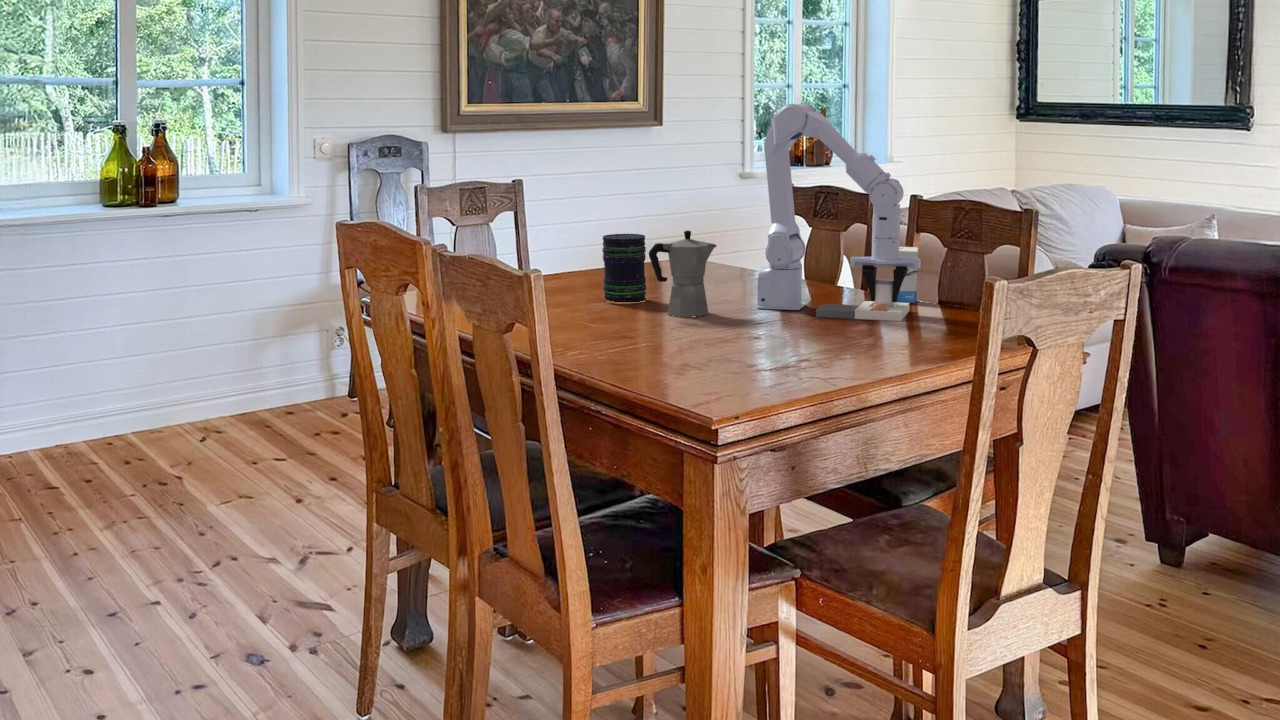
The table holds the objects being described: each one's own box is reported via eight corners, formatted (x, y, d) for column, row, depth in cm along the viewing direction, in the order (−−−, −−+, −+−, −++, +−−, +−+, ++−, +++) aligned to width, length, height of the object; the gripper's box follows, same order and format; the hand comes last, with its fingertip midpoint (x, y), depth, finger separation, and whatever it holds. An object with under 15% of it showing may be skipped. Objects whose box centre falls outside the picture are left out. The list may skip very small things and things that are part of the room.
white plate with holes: (854, 318, 266) (854, 310, 266) (864, 309, 277) (864, 301, 277) (900, 320, 263) (901, 312, 262) (909, 311, 274) (909, 302, 273)
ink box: (917, 303, 283) (918, 250, 280) (894, 303, 284) (895, 250, 281) (916, 297, 291) (918, 246, 289) (894, 297, 292) (895, 245, 290)
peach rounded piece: (871, 318, 266) (872, 304, 265) (873, 316, 268) (874, 302, 268) (885, 319, 265) (885, 305, 264) (887, 317, 267) (887, 303, 267)
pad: (815, 316, 269) (815, 309, 268) (823, 310, 276) (823, 303, 276) (853, 318, 266) (853, 311, 266) (860, 312, 273) (860, 305, 273)
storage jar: (654, 301, 291) (654, 236, 288) (618, 306, 285) (617, 239, 282) (630, 296, 299) (629, 232, 296) (595, 300, 294) (593, 235, 290)
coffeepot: (707, 308, 281) (707, 226, 277) (725, 315, 273) (725, 231, 269) (642, 313, 276) (641, 230, 272) (657, 320, 267) (656, 235, 264)
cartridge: (872, 314, 270) (873, 281, 269) (876, 311, 274) (876, 279, 273) (891, 315, 269) (892, 282, 268) (894, 312, 273) (895, 279, 271)
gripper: (847, 238, 267) (846, 302, 270) (918, 240, 262) (916, 305, 265) (854, 235, 273) (852, 297, 276) (922, 236, 269) (920, 300, 271)
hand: (884, 301), depth 271 cm, fingers closed on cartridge, 4 cm apart
